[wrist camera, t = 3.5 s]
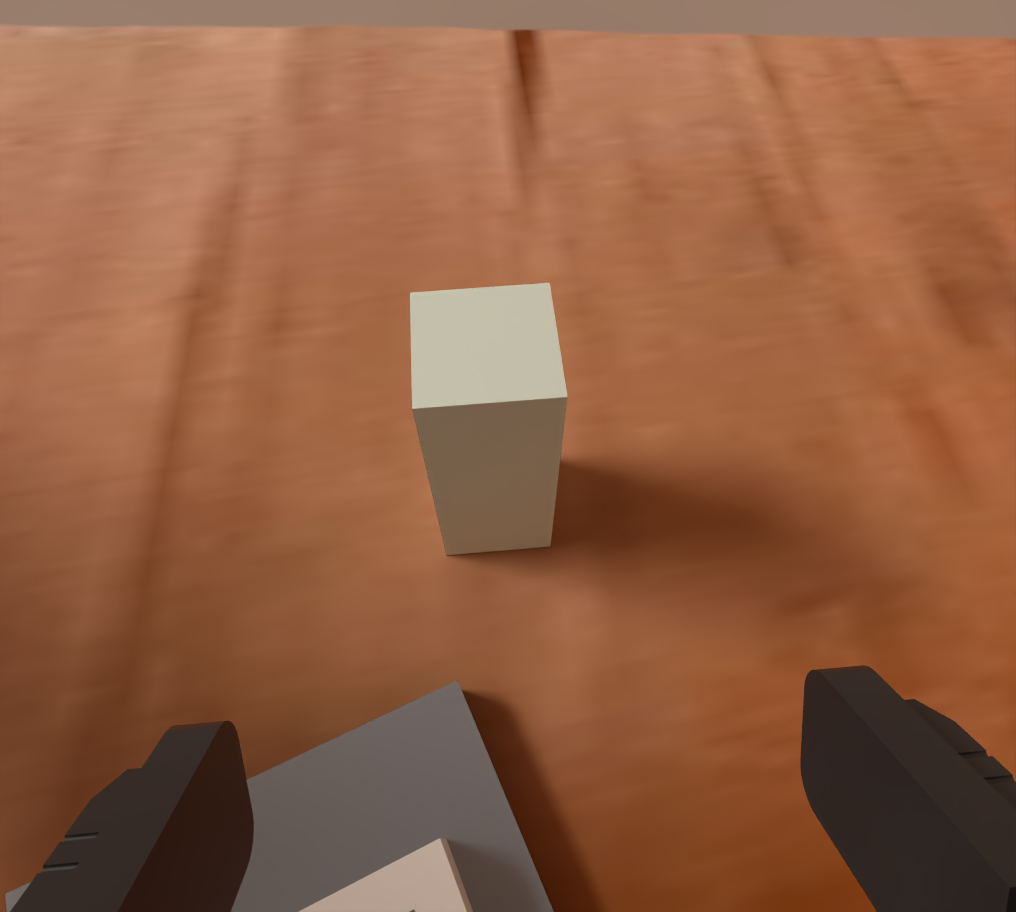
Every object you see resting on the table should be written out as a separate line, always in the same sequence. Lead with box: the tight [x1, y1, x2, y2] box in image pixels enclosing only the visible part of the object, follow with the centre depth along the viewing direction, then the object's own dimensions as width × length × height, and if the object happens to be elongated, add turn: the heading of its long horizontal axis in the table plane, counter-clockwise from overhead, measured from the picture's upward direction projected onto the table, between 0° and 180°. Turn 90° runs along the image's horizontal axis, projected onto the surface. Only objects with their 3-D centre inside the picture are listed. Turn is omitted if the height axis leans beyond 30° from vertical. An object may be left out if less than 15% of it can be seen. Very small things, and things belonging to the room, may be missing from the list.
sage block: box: [410, 283, 567, 555], centre depth 23 cm, size 4×4×10 cm
